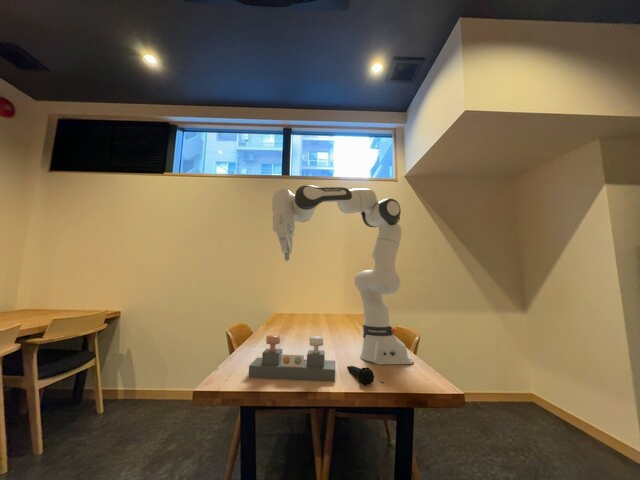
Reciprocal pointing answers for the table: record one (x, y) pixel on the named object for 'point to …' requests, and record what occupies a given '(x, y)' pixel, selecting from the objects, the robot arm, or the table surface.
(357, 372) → the microphone
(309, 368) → the button console
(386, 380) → the table surface
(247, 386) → the table surface
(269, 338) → the terracotta button
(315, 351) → the grey button
